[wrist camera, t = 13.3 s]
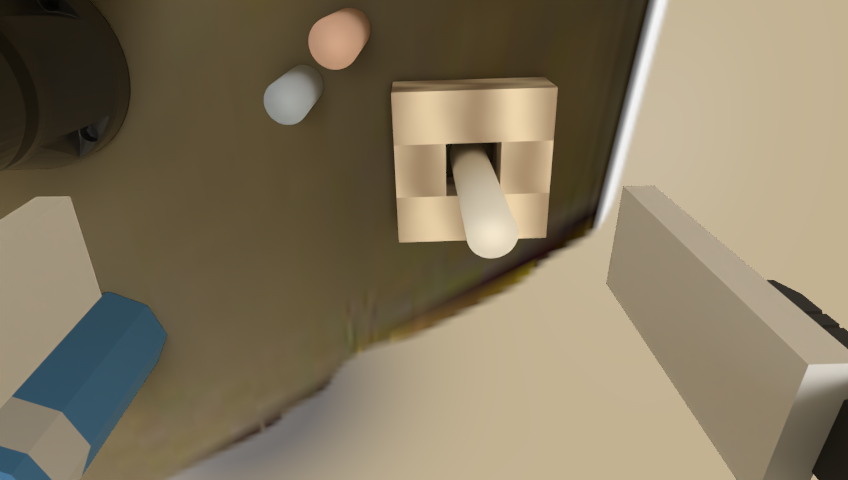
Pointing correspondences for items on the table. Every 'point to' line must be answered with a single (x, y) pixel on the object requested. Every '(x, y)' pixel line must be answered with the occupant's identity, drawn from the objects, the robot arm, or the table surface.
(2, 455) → the water bottle
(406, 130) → the block
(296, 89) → the short pin
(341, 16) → the medium pin
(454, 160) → the long pin
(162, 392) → the table surface
